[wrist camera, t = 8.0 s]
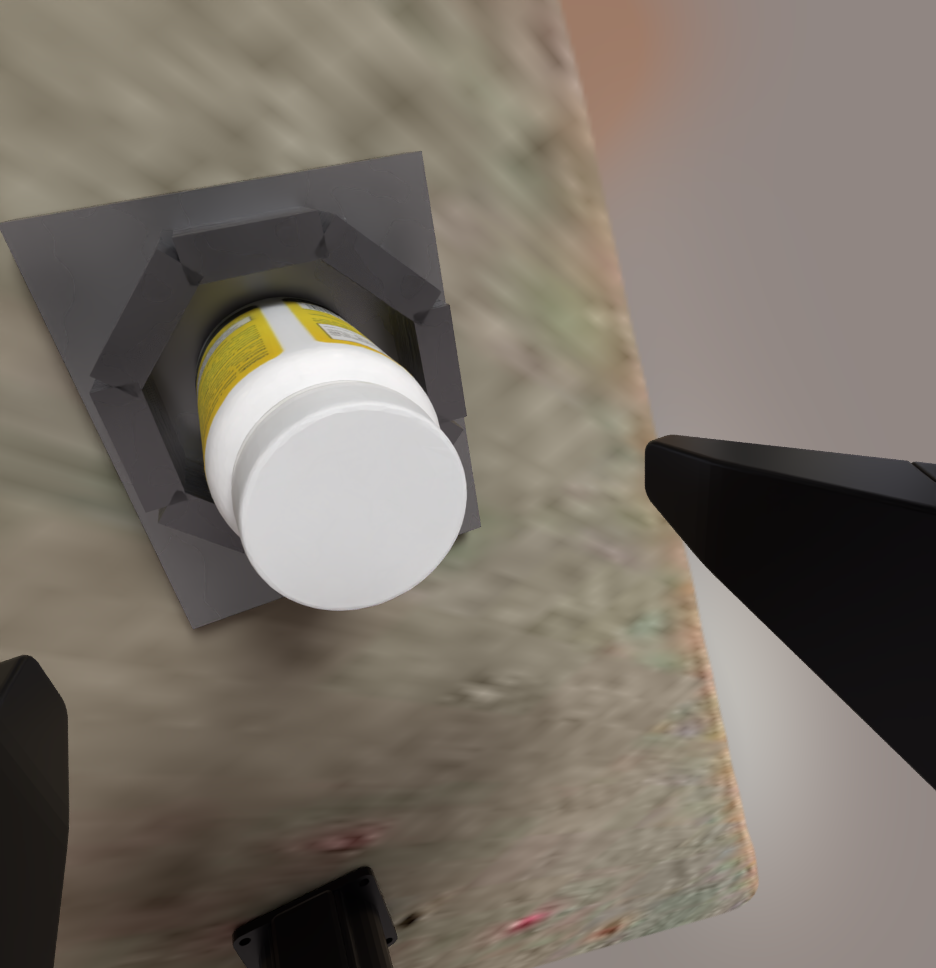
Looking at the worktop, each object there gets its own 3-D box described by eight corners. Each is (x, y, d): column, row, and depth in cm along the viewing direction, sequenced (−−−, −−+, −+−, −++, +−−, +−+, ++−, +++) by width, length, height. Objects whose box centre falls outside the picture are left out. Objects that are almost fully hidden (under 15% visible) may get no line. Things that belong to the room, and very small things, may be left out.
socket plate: (468, 511, 23) (511, 563, 20) (192, 607, 21) (194, 683, 18) (407, 152, 17) (455, 147, 14) (9, 220, 15) (-36, 232, 12)
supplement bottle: (221, 476, 18) (248, 666, 11) (171, 310, 16) (166, 416, 9) (381, 438, 19) (496, 585, 12) (356, 281, 17) (478, 353, 10)
